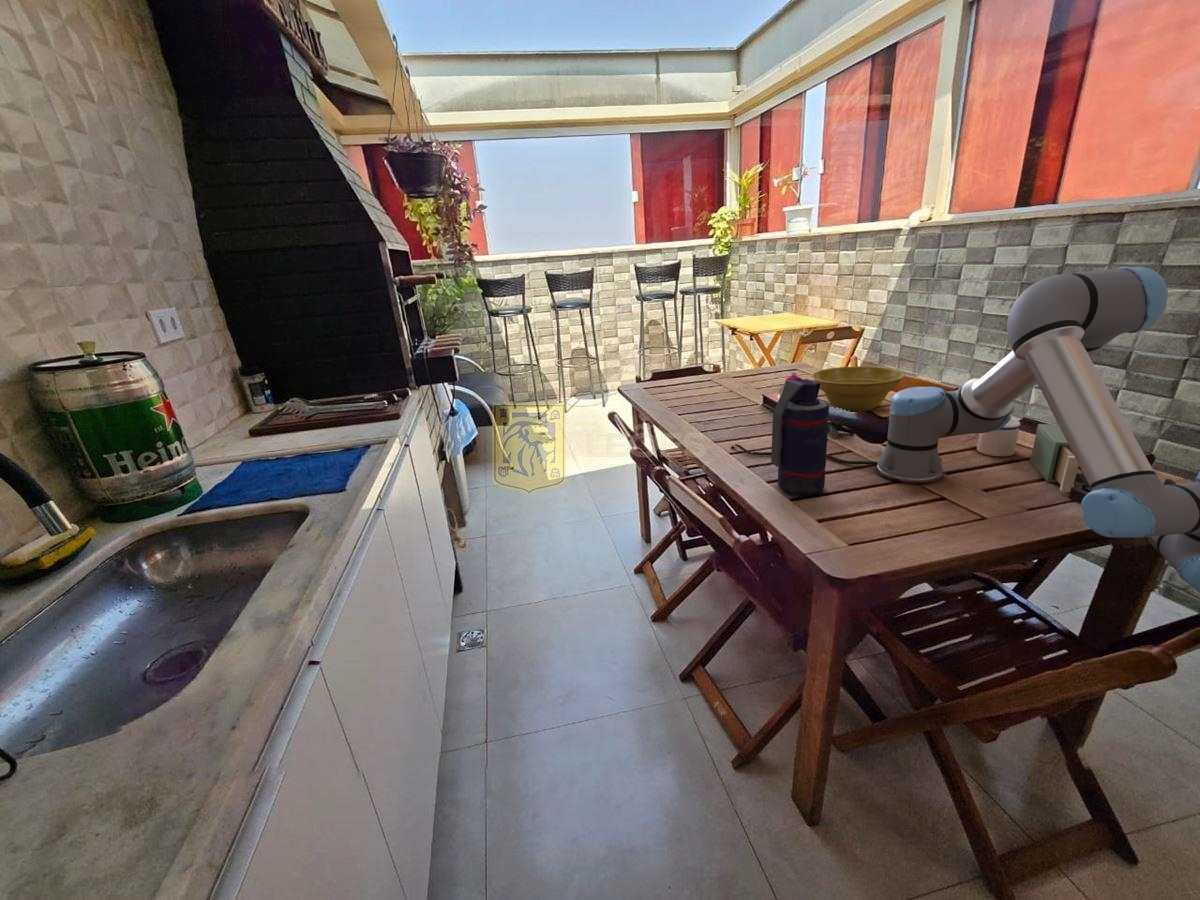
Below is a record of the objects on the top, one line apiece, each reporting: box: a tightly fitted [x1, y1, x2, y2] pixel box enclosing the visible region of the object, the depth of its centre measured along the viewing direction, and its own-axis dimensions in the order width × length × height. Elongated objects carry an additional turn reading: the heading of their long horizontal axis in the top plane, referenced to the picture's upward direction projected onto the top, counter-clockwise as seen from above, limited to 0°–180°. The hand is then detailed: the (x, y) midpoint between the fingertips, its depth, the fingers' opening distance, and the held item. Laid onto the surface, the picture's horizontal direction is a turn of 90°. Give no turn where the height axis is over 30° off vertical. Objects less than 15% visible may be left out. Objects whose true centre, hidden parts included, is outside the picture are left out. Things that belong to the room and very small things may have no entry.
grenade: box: [770, 378, 830, 497], centre depth 128 cm, size 14×12×30 cm
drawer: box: [1053, 446, 1085, 493], centre depth 115 cm, size 18×11×9 cm, turn 154°
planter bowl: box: [811, 365, 906, 412], centre depth 192 cm, size 32×32×13 cm
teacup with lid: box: [972, 418, 1022, 457], centre depth 141 cm, size 12×9×12 cm
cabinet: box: [1029, 423, 1069, 484], centre depth 124 cm, size 15×13×11 cm
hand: (1120, 481), depth 102 cm, fingers open, 13 cm apart
